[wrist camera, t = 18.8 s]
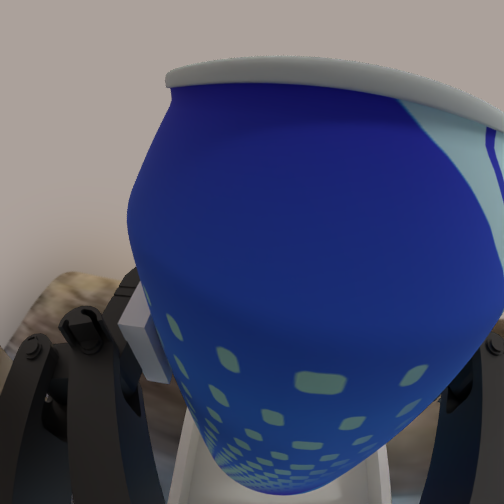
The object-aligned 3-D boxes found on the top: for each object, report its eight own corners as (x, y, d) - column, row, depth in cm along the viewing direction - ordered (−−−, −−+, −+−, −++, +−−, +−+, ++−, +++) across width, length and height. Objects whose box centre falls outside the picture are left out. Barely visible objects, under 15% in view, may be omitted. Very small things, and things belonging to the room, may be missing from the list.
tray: (358, 372, 20) (368, 351, 19) (373, 515, 10) (392, 512, 9) (206, 370, 21) (200, 348, 19) (178, 514, 11) (165, 512, 9)
